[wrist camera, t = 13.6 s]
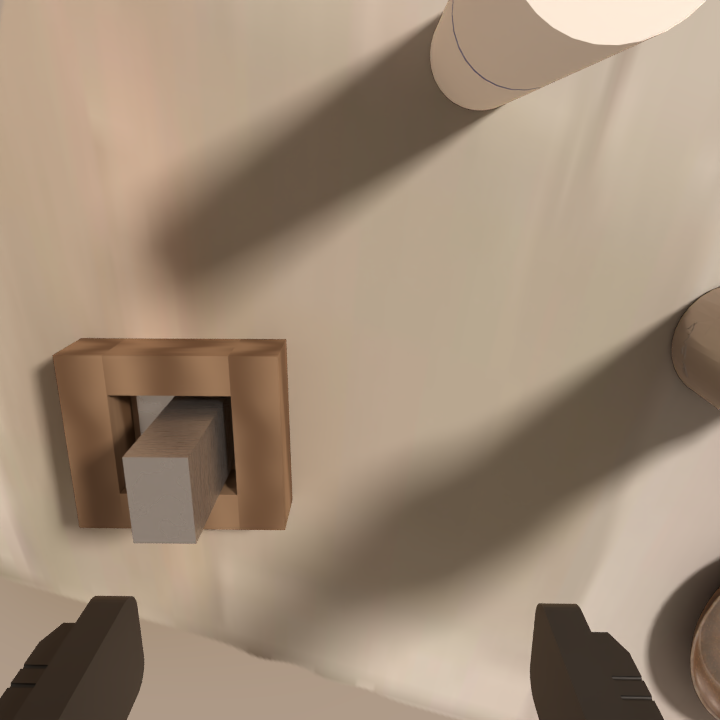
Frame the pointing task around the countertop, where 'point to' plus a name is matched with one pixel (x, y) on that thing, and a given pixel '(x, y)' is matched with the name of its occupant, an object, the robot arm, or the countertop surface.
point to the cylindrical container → (536, 42)
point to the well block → (177, 378)
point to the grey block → (177, 466)
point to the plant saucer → (707, 656)
